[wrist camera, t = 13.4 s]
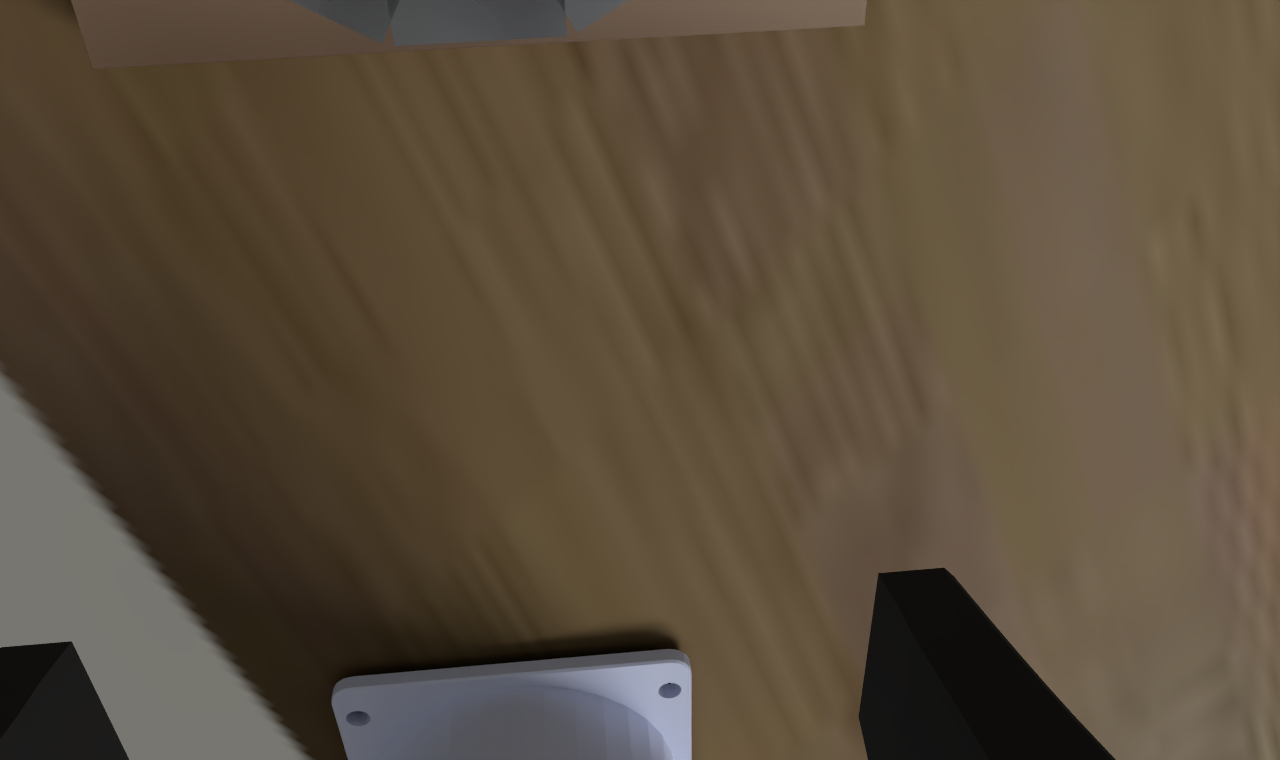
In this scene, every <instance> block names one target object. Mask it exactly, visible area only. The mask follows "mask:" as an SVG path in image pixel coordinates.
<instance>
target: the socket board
mask: <svg viewBox="0 0 1280 760" xmlns="http://www.w3.org/2000/svg"><path fill="white" fill-rule="evenodd" d="M71 2H72V5H73V8H74V11H75V15H76V18H77V21H78V24H79V27H80V30H81V33H82V36H83V39H84V42H85V45H86V48H87V52H88V55H89V58H90V61H91V64H92V67H93V69H99V68H117V67H134V66H152V65H170V64H188V63H205V62H223V61H241V60H259V59H277V58H294V57H312V56H330V55H348V54H365V53H383V52H401V51H419V50H436V49H454V48H472V47H490V46H508V45H525V44H543V43H561V42H579V41H596V40H614V39H632V38H650V37H667V36H685V35H703V34H721V33H739V32H756V31H774V30H792V29H810V28H827V27H845V26H863V25H865V15H866V4H867V0H71Z"/></svg>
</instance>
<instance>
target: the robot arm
mask: <svg viewBox="0 0 1280 760" xmlns="http://www.w3.org/2000/svg"><path fill="white" fill-rule="evenodd" d="M668 683H671V684H668ZM332 708H333V711H334V714H335V718H336V721H337V724H338V728H339V731H340V735H341V738H342V741H343V745H344V748H345V751H346V755H347V758H348V760H691V667H690V661H689V658H688V656H687V655H686V654H685V653H684V652H681V651H679V650H676V649H661V650H649V651H638V652H626V653H615V654H603V655H592V656H581V657H569V658H558V659H546V660H535V661H523V662H512V663H500V664H489V665H478V666H466V667H455V668H443V669H432V670H420V671H409V672H398V673H386V674H375V675H363V676H352V677H348V678H344V679H342V680H340V681H339V682H337V683H336V685H335V686H334V688H333V694H332ZM360 711H363V712H360ZM859 720H860V725H861V729H862V734H863V738H864V743H865V748H866V752H867V757H868V760H1115V759H1114V757H1113V756H1112V755H1111V754H1110V753H1109V752H1108V751H1107V750H1106V749H1105V748H1104V747H1103V746H1102V745H1101V744H1100V743H1099V742H1098V741H1097V739H1096V738H1095V737H1094V736H1093V735H1092V734H1091V733H1090V732H1089V731H1088V730H1087V729H1086V728H1085V727H1084V726H1083V725H1082V724H1081V722H1080V721H1079V720H1078V719H1077V718H1076V717H1075V716H1074V715H1073V714H1072V713H1071V712H1070V711H1069V709H1068V708H1067V707H1066V706H1065V705H1064V704H1063V703H1062V702H1061V701H1060V699H1059V698H1058V697H1057V696H1056V695H1055V694H1054V693H1053V692H1052V691H1051V690H1050V688H1049V687H1048V686H1047V685H1046V684H1045V683H1044V682H1043V680H1042V679H1041V678H1040V677H1039V676H1038V675H1037V674H1036V672H1035V671H1034V670H1033V669H1032V668H1031V667H1030V666H1029V664H1028V663H1027V662H1026V661H1025V660H1024V659H1023V658H1022V657H1021V655H1020V654H1019V653H1018V652H1017V651H1016V650H1015V648H1014V647H1013V646H1012V645H1011V644H1010V643H1009V641H1008V640H1007V639H1006V638H1005V637H1004V636H1003V634H1002V633H1001V632H1000V631H999V630H998V629H997V627H996V626H995V625H994V624H993V623H992V621H991V620H990V619H989V618H988V617H987V615H986V614H985V613H984V612H983V611H982V610H981V608H980V607H979V606H978V605H977V604H976V602H975V601H974V600H973V599H972V598H971V596H970V595H969V594H968V593H967V592H966V590H965V589H964V588H963V587H962V586H961V584H960V583H959V582H958V581H957V579H956V578H955V577H954V576H953V575H952V574H951V573H949V572H948V571H947V570H946V569H945V568H935V569H924V570H912V571H900V572H888V573H878V581H877V588H876V595H875V602H874V610H873V617H872V624H871V631H870V639H869V646H868V653H867V660H866V668H865V675H864V682H863V689H862V697H861V704H860V711H859ZM0 760H129V759H128V757H127V754H126V752H125V750H124V748H123V746H122V744H121V742H120V740H119V738H118V736H117V734H116V732H115V730H114V728H113V725H112V723H111V721H110V720H109V717H108V715H107V713H106V711H105V709H104V707H103V705H102V703H101V701H100V699H99V697H98V695H97V693H96V691H95V689H94V686H93V684H92V683H91V680H90V678H89V676H88V674H87V672H86V670H85V668H84V666H83V664H82V662H81V660H80V658H79V656H78V654H77V651H76V650H75V648H74V646H73V643H72V642H61V643H49V644H36V645H24V646H14V647H2V648H0Z"/></svg>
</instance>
